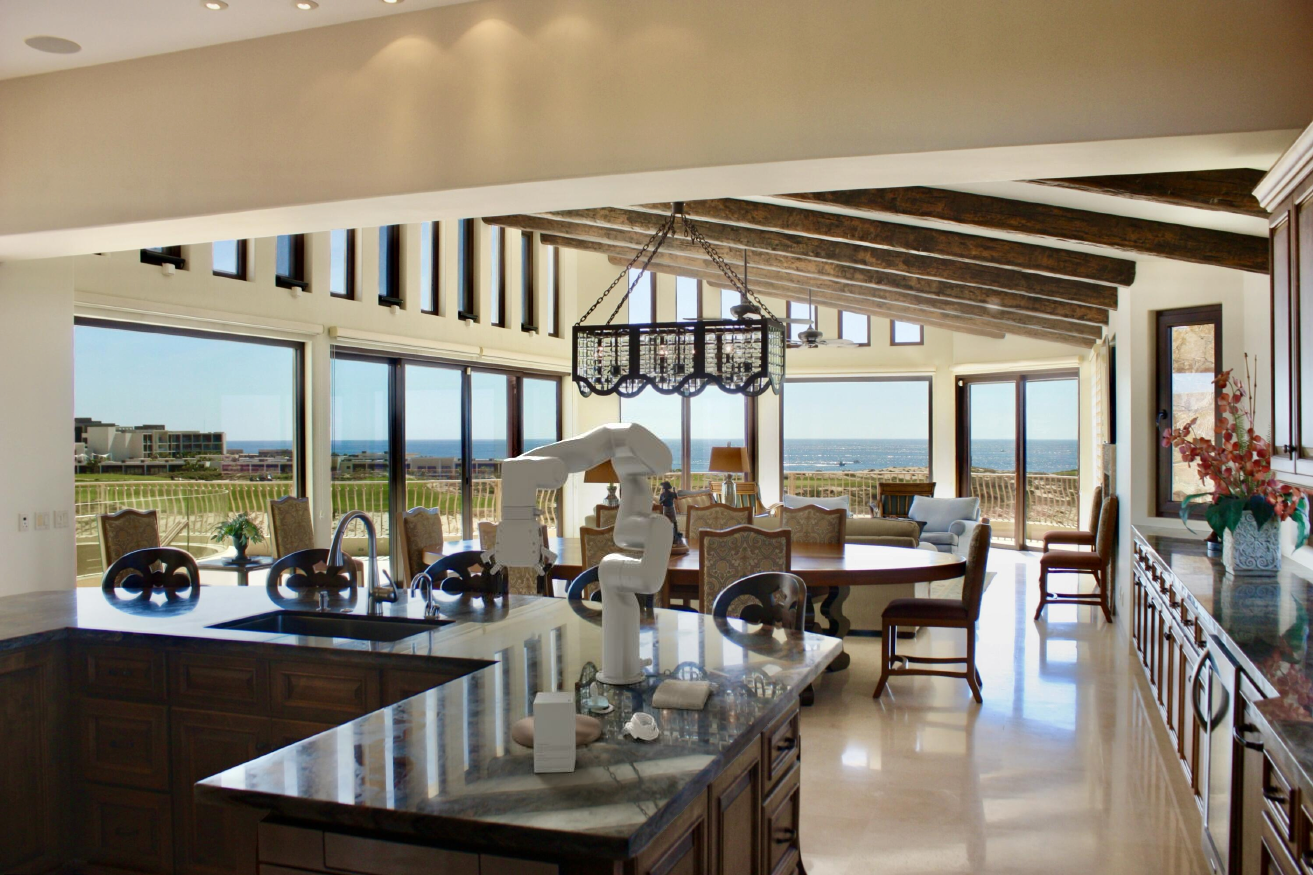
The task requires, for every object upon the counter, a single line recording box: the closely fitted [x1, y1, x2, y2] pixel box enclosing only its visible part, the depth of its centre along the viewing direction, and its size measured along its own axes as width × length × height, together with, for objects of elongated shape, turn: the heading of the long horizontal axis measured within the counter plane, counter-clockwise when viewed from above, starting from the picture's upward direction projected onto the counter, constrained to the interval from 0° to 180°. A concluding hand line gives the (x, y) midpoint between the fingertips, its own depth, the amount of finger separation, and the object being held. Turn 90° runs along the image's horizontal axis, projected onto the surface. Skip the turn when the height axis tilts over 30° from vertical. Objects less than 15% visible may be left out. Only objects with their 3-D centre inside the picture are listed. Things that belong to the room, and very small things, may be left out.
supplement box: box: [532, 691, 577, 774], centre depth 161 cm, size 7×7×13 cm
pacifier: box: [585, 681, 614, 714], centre depth 196 cm, size 7×6×6 cm
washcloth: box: [651, 678, 712, 711], centre depth 205 cm, size 12×18×3 cm, turn 171°
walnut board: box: [511, 713, 602, 748], centre depth 179 cm, size 18×18×2 cm
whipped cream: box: [621, 712, 660, 741], centre depth 178 cm, size 8×7×5 cm
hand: (519, 592), depth 193 cm, fingers open, 9 cm apart
